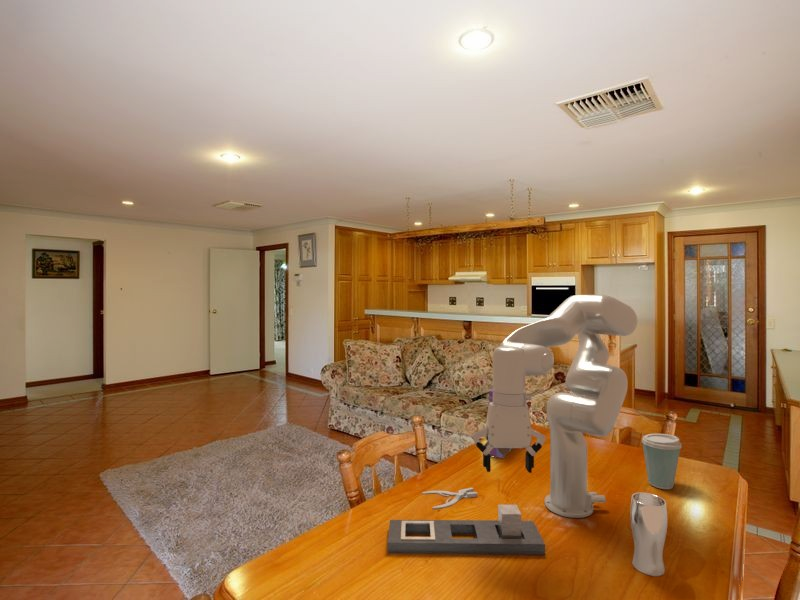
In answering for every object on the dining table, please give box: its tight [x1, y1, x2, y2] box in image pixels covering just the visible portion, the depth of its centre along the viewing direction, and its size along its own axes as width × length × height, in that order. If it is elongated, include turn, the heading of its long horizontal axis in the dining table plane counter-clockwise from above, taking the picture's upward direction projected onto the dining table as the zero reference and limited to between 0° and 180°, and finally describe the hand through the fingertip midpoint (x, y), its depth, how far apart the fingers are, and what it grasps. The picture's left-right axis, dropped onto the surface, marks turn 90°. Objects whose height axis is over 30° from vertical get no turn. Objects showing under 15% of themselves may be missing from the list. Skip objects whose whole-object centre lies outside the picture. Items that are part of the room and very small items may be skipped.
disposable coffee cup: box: [641, 433, 682, 490], centre depth 134 cm, size 11×11×15 cm
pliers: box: [421, 487, 478, 510], centre depth 127 cm, size 10×2×15 cm
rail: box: [387, 519, 546, 556], centre depth 105 cm, size 36×10×3 cm, turn 88°
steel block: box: [497, 504, 522, 539], centre depth 104 cm, size 4×4×8 cm
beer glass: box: [629, 491, 668, 577], centre depth 94 cm, size 7×7×15 cm
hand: (508, 470), depth 104 cm, fingers open, 9 cm apart
